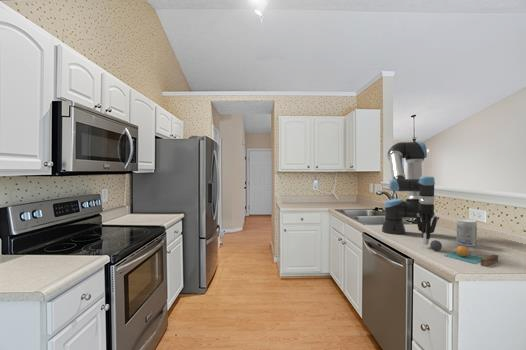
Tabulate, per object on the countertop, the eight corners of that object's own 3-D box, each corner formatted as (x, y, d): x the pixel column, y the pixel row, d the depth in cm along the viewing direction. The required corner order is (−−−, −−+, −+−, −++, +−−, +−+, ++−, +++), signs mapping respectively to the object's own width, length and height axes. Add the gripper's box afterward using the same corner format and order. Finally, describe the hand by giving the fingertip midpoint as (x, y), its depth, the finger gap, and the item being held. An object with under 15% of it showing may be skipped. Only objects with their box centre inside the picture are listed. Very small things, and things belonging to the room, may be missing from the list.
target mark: (443, 255, 141) (443, 255, 141) (457, 251, 148) (457, 251, 148) (475, 264, 129) (475, 263, 129) (488, 259, 135) (488, 258, 135)
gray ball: (436, 241, 147) (438, 251, 146) (443, 239, 149) (444, 249, 149) (427, 240, 152) (428, 250, 151) (433, 239, 154) (435, 248, 154)
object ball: (462, 245, 137) (467, 256, 135) (467, 244, 140) (473, 254, 138) (451, 247, 141) (456, 258, 139) (457, 246, 144) (462, 256, 142)
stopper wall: (480, 265, 127) (480, 258, 127) (493, 260, 134) (493, 254, 133) (485, 266, 125) (485, 260, 125) (498, 261, 132) (498, 255, 132)
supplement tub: (464, 242, 166) (465, 218, 166) (480, 246, 157) (481, 221, 157) (452, 243, 164) (452, 219, 163) (467, 247, 155) (468, 222, 154)
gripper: (411, 202, 159) (411, 242, 159) (434, 205, 147) (434, 248, 148) (419, 201, 162) (418, 240, 163) (442, 204, 151) (441, 246, 152)
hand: (425, 244), depth 156 cm, fingers closed
